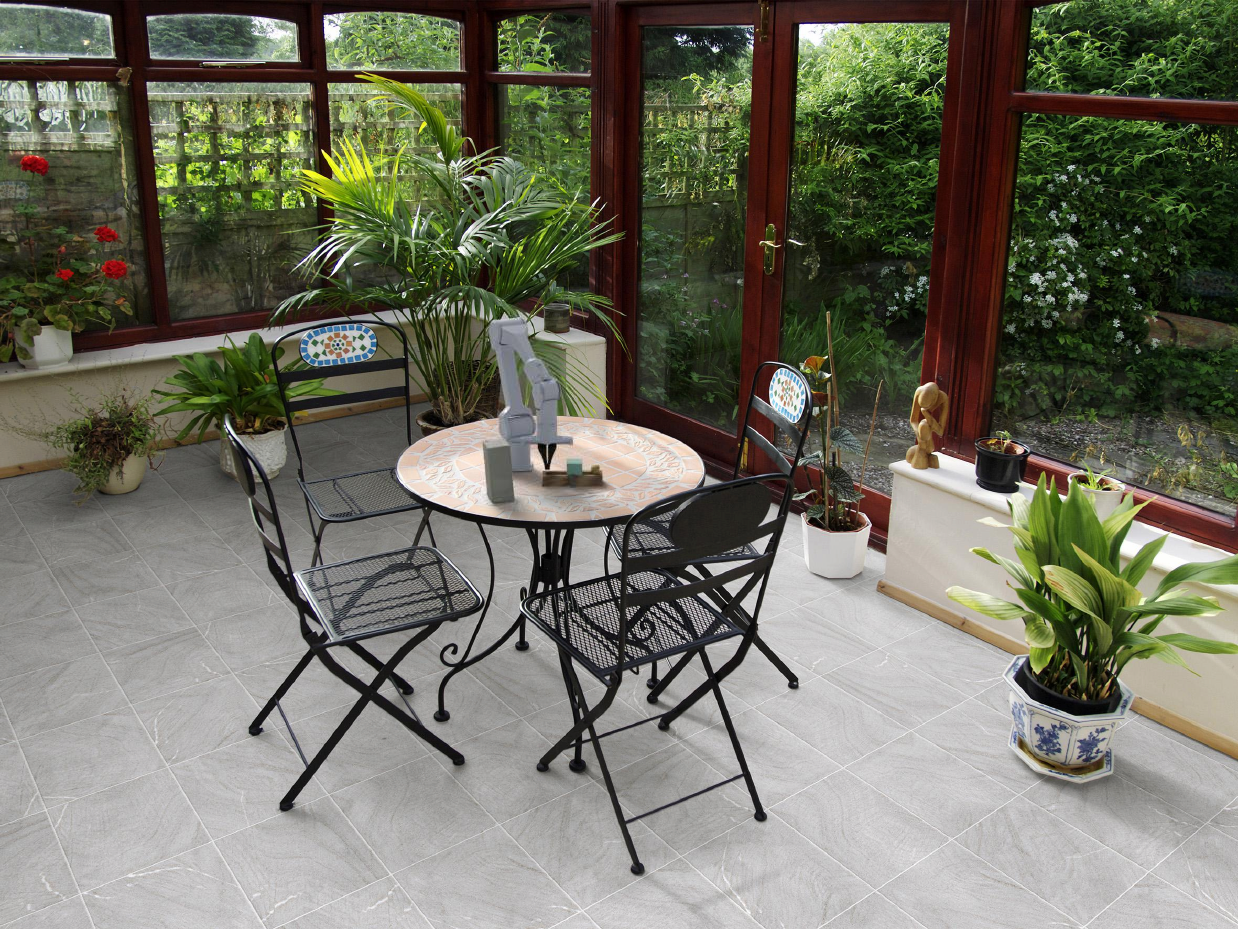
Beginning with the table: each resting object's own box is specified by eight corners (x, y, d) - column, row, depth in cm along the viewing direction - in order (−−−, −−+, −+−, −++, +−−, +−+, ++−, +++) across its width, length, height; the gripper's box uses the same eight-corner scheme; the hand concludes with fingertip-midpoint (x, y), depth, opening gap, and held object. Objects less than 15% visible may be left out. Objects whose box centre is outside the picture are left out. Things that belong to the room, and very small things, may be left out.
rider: (566, 480, 311) (566, 463, 309) (566, 475, 315) (566, 458, 313) (582, 480, 311) (582, 463, 309) (582, 475, 315) (582, 458, 314)
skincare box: (515, 501, 299) (513, 445, 294) (488, 504, 297) (487, 447, 292) (509, 491, 307) (507, 436, 302) (483, 493, 305) (481, 438, 300)
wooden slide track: (542, 487, 310) (541, 470, 308) (542, 479, 316) (542, 462, 315) (602, 486, 311) (602, 469, 309) (602, 479, 317) (602, 462, 315)
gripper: (520, 426, 303) (521, 473, 308) (572, 426, 304) (573, 473, 308) (521, 419, 310) (522, 465, 314) (572, 419, 311) (573, 465, 315)
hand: (547, 468), depth 312 cm, fingers closed
